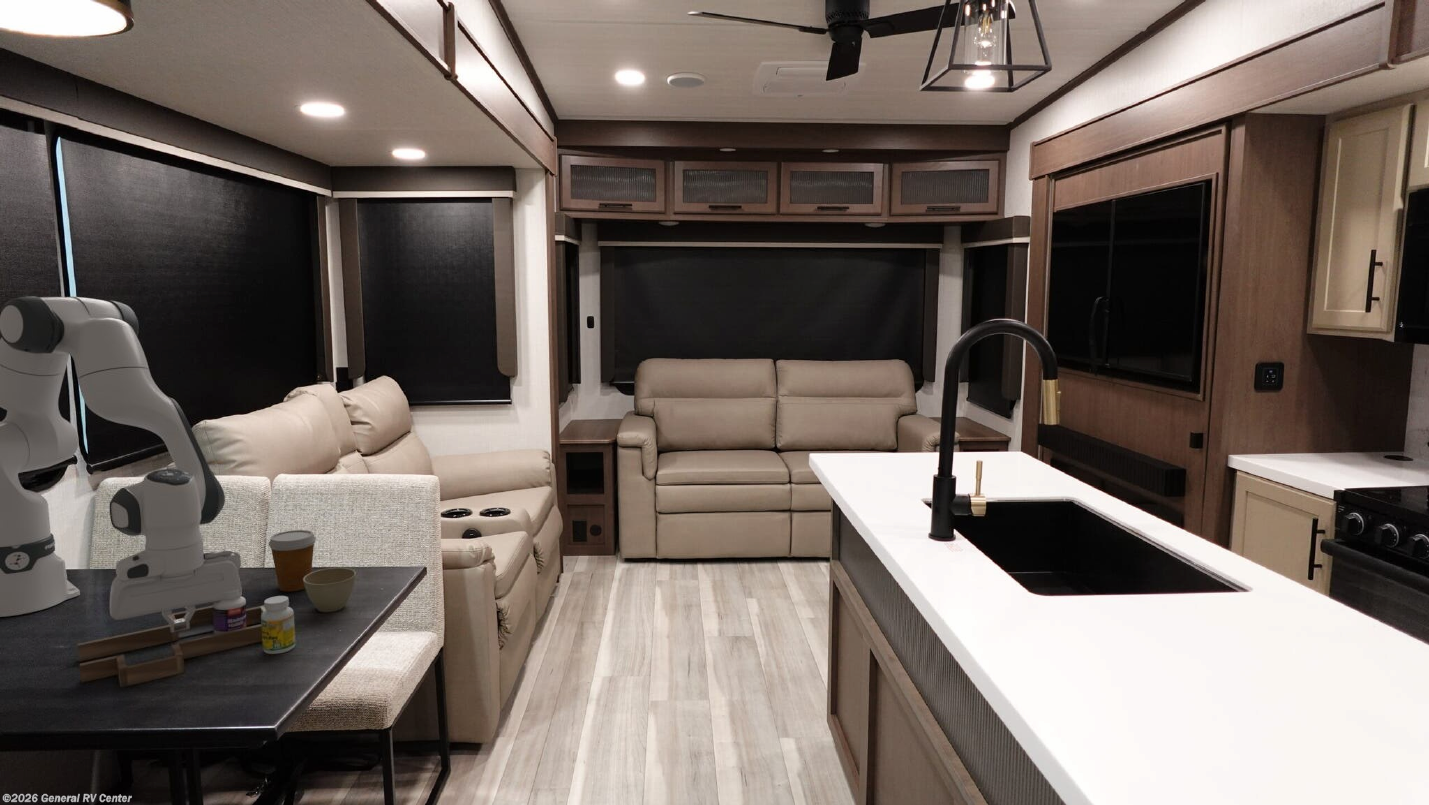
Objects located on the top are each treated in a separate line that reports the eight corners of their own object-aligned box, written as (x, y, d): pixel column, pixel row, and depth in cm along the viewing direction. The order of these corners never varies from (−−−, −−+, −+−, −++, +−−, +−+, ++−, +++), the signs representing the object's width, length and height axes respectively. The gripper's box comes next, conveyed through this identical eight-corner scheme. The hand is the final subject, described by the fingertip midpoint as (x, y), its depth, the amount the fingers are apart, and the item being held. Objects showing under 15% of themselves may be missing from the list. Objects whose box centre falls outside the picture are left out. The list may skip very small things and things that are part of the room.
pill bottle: (230, 644, 151) (229, 594, 150) (206, 640, 152) (205, 591, 151) (253, 633, 156) (252, 585, 155) (230, 630, 157) (229, 582, 156)
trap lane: (77, 648, 148) (76, 632, 148) (259, 610, 167) (259, 596, 167) (82, 696, 131) (81, 679, 130) (285, 648, 150) (285, 632, 150)
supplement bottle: (302, 645, 152) (299, 596, 150) (279, 656, 146) (276, 606, 145) (279, 640, 153) (277, 592, 152) (255, 652, 148) (253, 602, 147)
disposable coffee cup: (304, 594, 176) (302, 542, 175) (261, 593, 176) (259, 541, 175) (326, 579, 186) (323, 529, 184) (285, 578, 186) (282, 528, 184)
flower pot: (293, 612, 167) (292, 579, 166) (332, 596, 176) (331, 565, 175) (329, 620, 163) (327, 586, 162) (367, 603, 172) (366, 571, 171)
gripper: (236, 543, 156) (240, 611, 158) (105, 564, 143) (111, 637, 145) (243, 552, 151) (246, 622, 153) (108, 574, 138) (113, 650, 140)
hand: (179, 629), depth 149 cm, fingers closed
